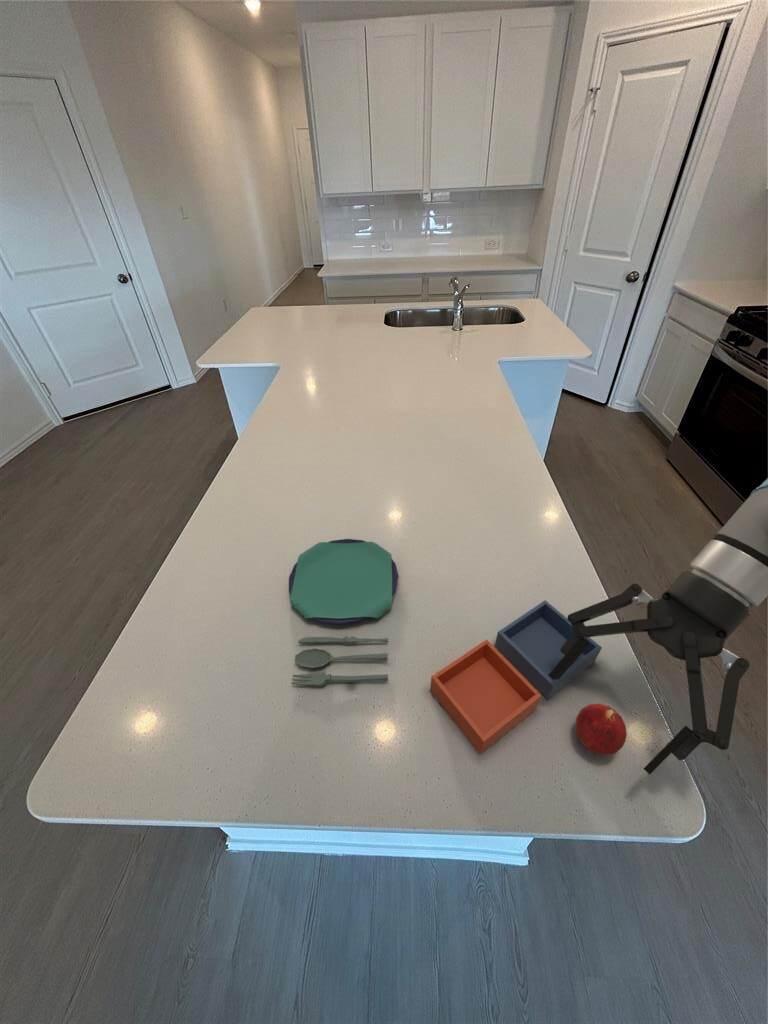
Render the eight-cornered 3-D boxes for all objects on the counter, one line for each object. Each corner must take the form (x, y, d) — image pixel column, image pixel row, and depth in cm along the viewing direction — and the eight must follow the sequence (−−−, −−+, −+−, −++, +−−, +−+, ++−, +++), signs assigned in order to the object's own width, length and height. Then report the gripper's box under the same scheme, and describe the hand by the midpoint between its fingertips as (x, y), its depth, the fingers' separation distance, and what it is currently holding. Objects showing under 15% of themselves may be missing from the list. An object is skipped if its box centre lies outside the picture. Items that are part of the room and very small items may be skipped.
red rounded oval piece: (616, 770, 56) (639, 745, 51) (569, 755, 58) (586, 729, 52) (614, 726, 60) (634, 698, 55) (570, 713, 62) (585, 684, 56)
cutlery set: (397, 544, 88) (397, 536, 86) (401, 687, 65) (401, 679, 64) (298, 546, 88) (296, 537, 87) (268, 688, 65) (265, 681, 64)
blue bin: (594, 662, 68) (602, 647, 65) (547, 700, 63) (553, 686, 61) (540, 614, 74) (545, 599, 72) (494, 646, 70) (497, 631, 67)
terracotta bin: (536, 709, 62) (542, 695, 60) (480, 754, 58) (483, 741, 55) (483, 653, 69) (486, 639, 66) (429, 690, 65) (431, 676, 62)
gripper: (844, 671, 46) (700, 810, 49) (626, 534, 62) (531, 647, 65) (858, 671, 40) (695, 828, 44) (615, 521, 56) (511, 645, 60)
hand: (596, 720), depth 55 cm, fingers open, 13 cm apart
